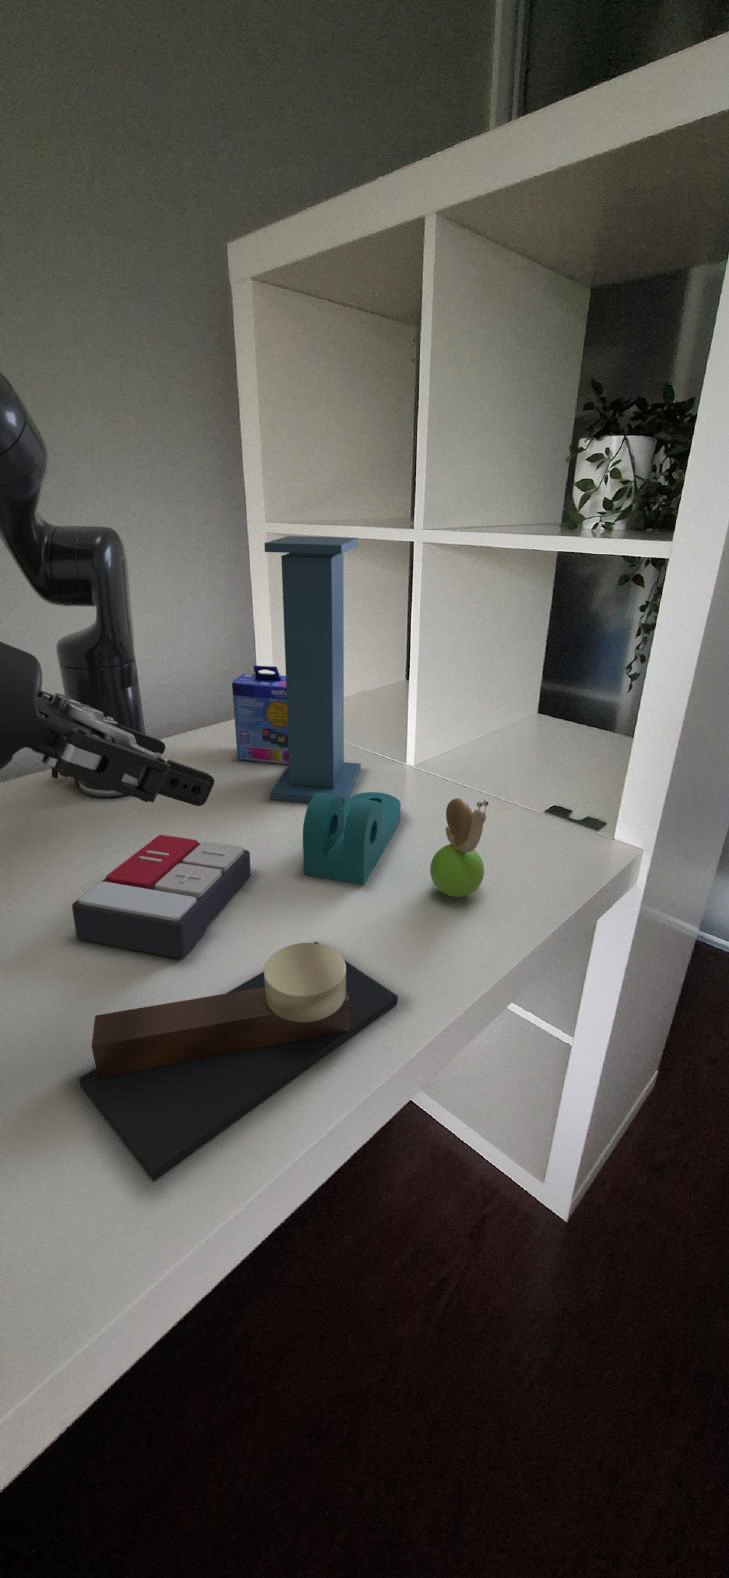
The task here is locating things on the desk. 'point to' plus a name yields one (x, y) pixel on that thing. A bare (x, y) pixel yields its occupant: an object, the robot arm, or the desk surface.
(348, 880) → the bracket
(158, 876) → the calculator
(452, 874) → the snail figurine
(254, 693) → the ink cartridge box
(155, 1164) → the rubber mat
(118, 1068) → the tape bar
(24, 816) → the desk surface
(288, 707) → the stand
